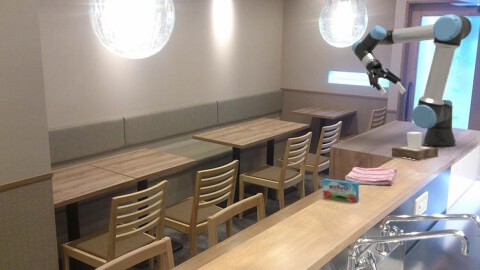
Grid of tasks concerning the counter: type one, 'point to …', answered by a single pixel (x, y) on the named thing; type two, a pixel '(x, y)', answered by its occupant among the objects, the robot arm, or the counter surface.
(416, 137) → the white cup
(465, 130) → the counter surface
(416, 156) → the block
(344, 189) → the blue flat box
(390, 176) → the dish towel
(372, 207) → the counter surface
